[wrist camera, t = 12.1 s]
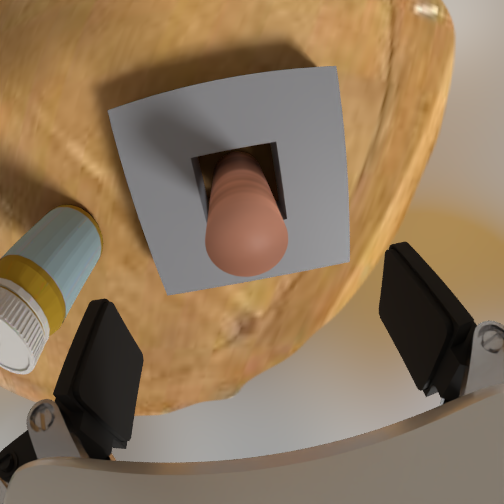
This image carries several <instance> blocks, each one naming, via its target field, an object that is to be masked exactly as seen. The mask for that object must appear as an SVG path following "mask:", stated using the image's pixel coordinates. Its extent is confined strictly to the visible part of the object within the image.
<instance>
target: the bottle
mask: <svg viewBox="0 0 504 504" xmlns="http://www.w3.org/2000/svg"><path fill="white" fill-rule="evenodd" d="M102 249H103V239H102V234H101V231H100V229H99V227H98V225H97V223H96V221H95V220H94V219H93V218H92V217H91V215H89V214H88V213H87V212H86V211H84V210H83V209H81V208H79V207H76V206H73V205H60V206H58V207H56V208H54V209H52V210H51V211H50V212H49V213H47V214H46V215H45V216H44V217H43V218H42V219H41V220H40V221H39V222H37V223H36V224H35V225H34V226H33V227H32V228H31V229H30V230H29V231H28V232H27V233H26V234H25V235H24V236H23V237H22V238H21V239H19V240H18V241H17V242H16V243H15V244H14V245H13V246H12V247H11V248H10V249H9V250H8V252H7V253H6V254H5V255H4V256H3V257H2V258H1V259H0V366H1V367H2V368H4V369H6V370H8V371H10V372H13V373H17V374H28V373H30V372H31V371H32V370H33V369H34V367H35V365H36V363H37V361H38V359H39V357H40V355H41V352H42V350H43V348H44V345H45V343H46V342H47V340H48V338H49V336H50V335H52V334H53V333H54V332H56V331H57V330H58V329H59V328H60V326H61V324H62V323H63V321H64V319H65V318H66V316H67V314H68V312H69V310H70V308H71V306H72V304H73V303H74V301H75V299H76V297H77V295H78V294H79V292H80V290H81V288H82V287H83V285H84V283H85V281H86V280H87V278H88V276H89V275H90V273H91V271H92V270H93V268H94V266H95V265H96V263H97V261H98V259H99V258H100V256H101V254H102Z"/></svg>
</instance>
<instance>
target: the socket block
mask: <svg viewBox="0 0 504 504" xmlns="http://www.w3.org/2000/svg"><path fill="white" fill-rule="evenodd" d="M108 114H109V118H110V122H111V126H112V130H113V134H114V138H115V142H116V145H117V149H118V153H119V156H120V160H121V163H122V167H123V170H124V173H125V177H126V180H127V183H128V187H129V190H130V193H131V196H132V199H133V202H134V205H135V208H136V211H137V214H138V217H139V220H140V223H141V226H142V229H143V232H144V235H145V238H146V240H147V243H148V246H149V249H150V251H151V254H152V257H153V259H154V262H155V265H156V267H157V270H158V272H159V275H160V278H161V280H162V283H163V285H164V288H165V290H166V293H167V295H173V294H179V293H185V292H191V291H197V290H203V289H209V288H214V287H220V286H226V285H231V284H237V283H243V282H248V281H253V280H259V279H264V278H270V277H275V276H280V275H285V274H291V273H296V272H301V271H306V270H311V269H316V268H321V267H326V266H331V265H336V264H341V263H346V262H350V235H349V197H348V177H347V161H346V147H345V136H344V125H343V116H342V107H341V98H340V90H339V83H338V76H337V69H336V66H327V67H310V68H297V69H287V70H278V71H269V72H262V73H255V74H248V75H242V76H236V77H230V78H225V79H220V80H214V81H210V82H205V83H200V84H196V85H192V86H187V87H183V88H179V89H175V90H172V91H168V92H164V93H160V94H157V95H153V96H150V97H147V98H143V99H140V100H137V101H134V102H131V103H128V104H125V105H122V106H119V107H116V108H113V109H110V110H108ZM265 143H270V145H271V152H272V158H273V165H274V171H275V178H276V184H277V191H278V198H279V201H275V202H276V204H277V206H278V209H279V211H280V214H281V216H282V218H283V221H284V223H285V225H286V228H287V232H288V246H287V249H286V252H285V254H284V256H283V258H282V259H281V260H280V262H279V263H278V264H277V265H276V266H274V267H273V268H272V269H270V270H269V271H267V272H265V273H262V274H260V275H256V276H250V277H240V276H234V275H231V274H228V273H226V272H224V271H222V270H221V269H219V268H218V267H217V266H216V265H215V264H214V263H213V262H212V261H211V259H210V258H209V256H208V254H207V251H206V247H205V235H206V227H207V219H208V211H209V202H208V197H207V193H206V189H205V185H204V181H203V176H202V172H201V168H200V163H199V159H198V156H202V155H207V154H211V153H216V152H221V151H226V150H231V149H236V148H242V147H247V146H253V145H259V144H265Z"/></svg>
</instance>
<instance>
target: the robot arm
mask: <svg viewBox="0 0 504 504" xmlns="http://www.w3.org/2000/svg"><path fill="white" fill-rule="evenodd" d="M379 315H380V318H381V320H382V322H383V323H384V325H385V327H386V329H387V331H388V333H389V334H390V336H391V338H392V340H393V342H394V344H395V346H396V347H397V349H398V351H399V353H400V355H401V357H402V359H403V361H404V363H405V365H406V367H407V368H408V370H409V372H410V374H411V376H412V378H413V380H414V382H415V384H416V386H417V388H418V389H419V390H423V392H424V393H425V396H426V397H427V396H430V395H432V394H434V393H436V392H439V395H440V397H441V402H440V405H439V406H438V407H436V408H434V409H431V410H429V411H426V412H424V413H422V414H419V415H416V416H414V417H411V418H408V419H406V420H403V421H400V422H397V423H395V424H392V425H389V426H386V427H383V428H380V429H378V430H374V431H371V432H368V433H364V434H361V435H358V436H355V437H351V438H347V439H343V440H340V441H336V442H332V443H328V444H324V445H319V446H315V447H310V448H305V449H301V450H296V451H291V452H285V453H279V454H273V455H266V456H259V457H252V458H243V459H234V460H223V461H210V462H186V463H149V462H128V461H127V462H126V461H116V460H115V458H114V456H113V455H112V453H111V451H112V447H113V448H122V449H126V446H127V441H129V440H130V439H131V434H132V427H133V420H134V413H135V407H136V400H137V394H138V388H139V383H140V377H141V372H142V366H143V354H142V352H141V350H140V349H139V347H138V345H137V344H136V342H135V340H134V339H133V337H132V335H131V334H130V332H129V330H128V329H127V327H126V325H125V323H124V322H123V320H122V318H121V316H120V315H119V313H118V311H117V309H116V307H115V305H114V304H113V303H112V302H109V301H108V300H107V299H99V300H93V301H91V302H90V303H89V305H88V307H87V310H86V312H85V314H84V316H83V319H82V321H81V323H80V325H79V328H78V330H77V332H76V335H75V337H74V339H73V342H72V344H71V347H70V349H69V352H68V354H67V357H66V359H65V362H64V365H63V367H62V370H61V373H60V375H59V378H58V381H57V384H56V387H55V390H54V393H53V395H54V396H55V397H56V399H55V402H54V401H52V400H50V399H44V400H41V401H39V402H37V403H36V404H35V405H34V406H33V407H32V408H31V409H30V411H29V413H28V416H27V428H28V430H27V431H26V432H25V433H23V434H22V435H21V436H19V437H18V438H17V439H15V440H14V441H13V442H12V443H10V444H9V445H8V446H7V447H5V448H4V449H3V450H2V451H1V452H0V504H504V326H503V325H502V324H500V323H498V322H495V321H485V322H482V323H480V324H479V325H478V326H477V325H476V324H475V323H474V319H473V318H472V317H471V315H470V314H469V313H468V312H467V310H466V309H465V308H464V306H463V305H462V304H461V303H460V302H459V300H458V299H457V298H456V296H455V295H454V294H453V293H452V292H451V290H450V289H449V288H448V287H447V286H446V285H445V283H444V282H443V281H442V280H441V279H440V278H439V276H438V275H437V274H436V273H435V272H434V271H433V270H432V269H431V267H430V266H429V265H428V264H427V263H426V262H425V261H424V260H423V259H422V257H421V256H420V255H419V254H418V253H417V252H416V251H415V250H414V249H413V248H412V247H411V246H410V245H409V244H408V243H407V242H401V243H396V244H392V245H390V247H389V250H386V252H385V260H384V270H383V280H382V287H381V296H380V303H379Z"/></svg>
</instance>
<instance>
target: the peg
mask: <svg viewBox="0 0 504 504" xmlns="http://www.w3.org/2000/svg"><path fill="white" fill-rule="evenodd" d="M287 246H288V232H287V228H286V225H285V223H284V221H283V218H282V216H281V214H280V211H279V209H278V206H277V204H276V202H275V199H274V197H273V195H272V192H271V190H270V188H269V185H268V183H267V181H266V178H265V176H264V174H263V172H262V169H261V167H260V165H259V163H258V161H257V160H256V159H255V158H254V157H253V156H251V155H250V154H248V153H245V152H231V153H228V154H226V155H224V156H223V157H222V158H221V159H220V160H219V161H218V162H217V164H216V166H215V169H214V175H213V182H212V189H211V196H210V204H209V211H208V219H207V227H206V235H205V247H206V251H207V254H208V256H209V258H210V259H211V261H212V262H213V263H214V264H215V265H216V266H217V267H218V268H219V269H221V270H222V271H224V272H226V273H228V274H231V275H234V276H240V277H250V276H256V275H260V274H262V273H265V272H267V271H269V270H270V269H272V268H273V267H274V266H276V265H277V264H278V263H279V262H280V260H281V259H282V258H283V256H284V254H285V252H286V249H287Z"/></svg>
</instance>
